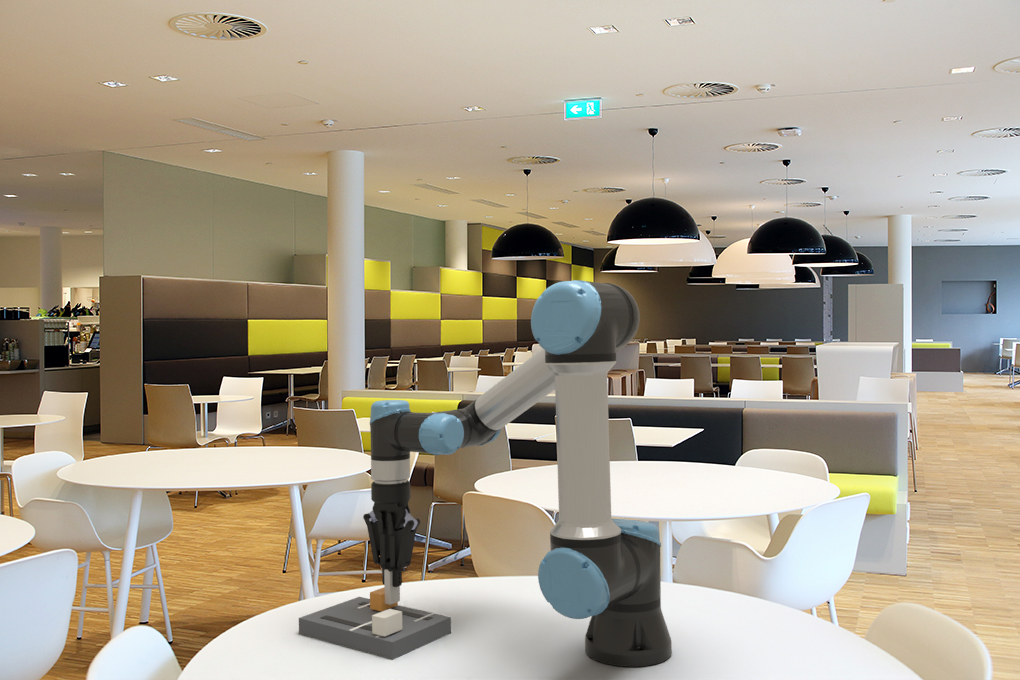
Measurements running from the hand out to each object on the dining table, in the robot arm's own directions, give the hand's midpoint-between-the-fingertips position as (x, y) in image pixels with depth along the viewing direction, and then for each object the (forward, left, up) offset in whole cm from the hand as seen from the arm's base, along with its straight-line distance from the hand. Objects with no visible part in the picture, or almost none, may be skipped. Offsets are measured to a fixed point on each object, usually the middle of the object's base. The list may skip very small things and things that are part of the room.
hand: (392, 602), depth 169 cm
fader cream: (-8, +10, -1) cm, 13 cm away
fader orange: (+2, 0, -1) cm, 3 cm away
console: (0, +5, -5) cm, 7 cm away
